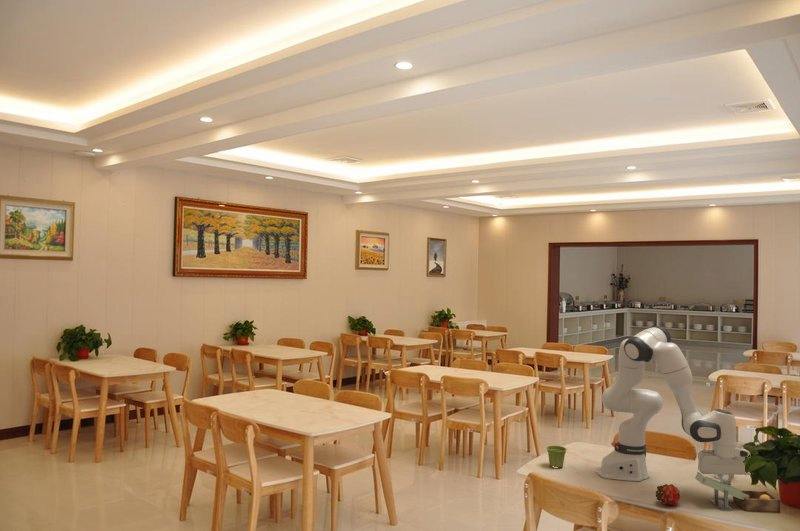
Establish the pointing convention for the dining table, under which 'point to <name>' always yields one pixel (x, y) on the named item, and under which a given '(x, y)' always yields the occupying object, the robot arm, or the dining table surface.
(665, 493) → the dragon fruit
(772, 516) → the dining table surface
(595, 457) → the dining table surface
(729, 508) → the fulcrum
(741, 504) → the tray
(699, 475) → the lever
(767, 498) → the ball
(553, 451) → the plant pot
